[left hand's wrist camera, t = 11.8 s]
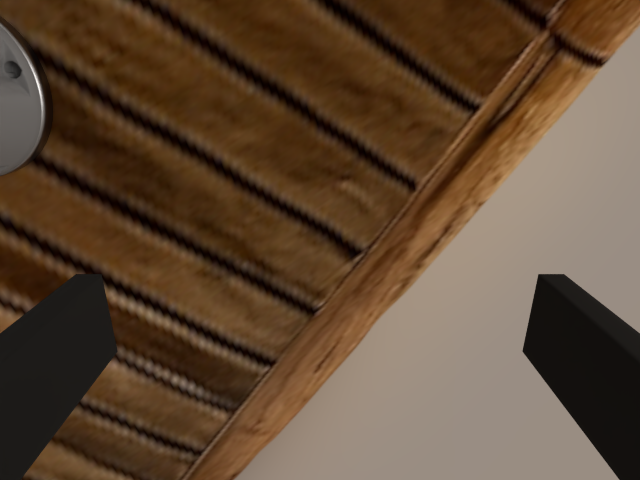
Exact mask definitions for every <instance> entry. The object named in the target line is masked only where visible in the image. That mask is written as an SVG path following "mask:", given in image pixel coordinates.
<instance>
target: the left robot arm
mask: <svg viewBox="0 0 640 480" xmlns="http://www.w3.org/2000/svg"><path fill="white" fill-rule="evenodd" d="M52 120H53V103H52V96H51V91H50V87H49V83H48V80H47V77H46V74H45V72H44V70H43V67H42V65H41V63H40V62H39V60H38V58H37V56H36V55H35V53H34V51H33V50H32V48H31V47H30V46H29V44H28V43H27V42H26V40H25V39H24V38H23V37H22V36H21V35H20V33H19V32H18V31H17V30H16V29H15V28H14V27H13V26H12V25H10V24H9V23H8V22H7V21H6V20H5V19H3V18H2V17H1V16H0V176H1V175H5V174H8V173H11V172H14V171H17V170H19V169H21V168H23V167H24V166H26V165H28V164H29V163H30V162H31V161H33V160H34V159H35V158H36V157H37V156H38V154H39V153H40V152H41V150H42V149H43V147H44V146H45V144H46V142H47V139H48V137H49V134H50V130H51V126H52ZM116 353H117V347H116V342H115V337H114V332H113V328H112V323H111V318H110V313H109V308H108V303H107V299H106V294H105V289H104V284H103V279H102V274H76V275H74V276H73V277H72V278H71V279H69V280H68V281H67V282H65V283H64V284H63V285H62V286H60V287H59V288H58V289H57V290H55V291H54V292H53V293H51V294H50V295H49V296H48V297H46V298H45V299H44V300H42V301H41V302H40V303H39V304H37V305H36V306H35V307H34V308H32V309H31V310H30V311H28V312H27V313H26V314H25V315H23V316H22V317H21V318H19V319H18V320H17V321H16V322H14V323H13V324H12V325H11V326H9V327H8V328H7V329H5V330H4V331H3V332H2V333H0V480H21V478H22V477H23V476H24V474H25V473H26V472H27V470H28V469H29V468H30V466H31V465H32V464H33V462H34V461H35V460H36V458H37V457H38V456H39V454H40V453H41V452H42V451H43V449H44V448H45V447H46V445H47V444H48V443H49V441H50V440H51V439H52V437H53V436H54V435H55V433H56V432H57V431H58V429H59V428H60V427H61V425H62V424H63V423H64V421H65V420H66V419H67V417H68V416H69V415H70V413H71V412H72V411H73V410H74V408H75V407H76V406H77V404H78V403H79V402H80V400H81V399H82V398H83V396H84V395H85V394H86V392H87V391H88V390H89V388H90V387H91V386H92V384H93V383H94V382H95V380H96V379H97V378H98V376H99V375H100V374H101V372H102V371H103V370H104V368H105V367H106V366H107V365H108V363H109V362H110V361H111V359H112V358H113V357H114V355H115V354H116ZM523 353H524V354H525V355H526V357H527V358H528V359H529V361H530V362H531V363H532V364H533V366H534V367H535V368H536V370H537V371H538V372H539V374H540V375H541V376H542V378H543V379H544V380H545V382H546V383H547V384H548V386H549V387H550V388H551V390H552V391H553V392H554V394H555V395H556V396H557V398H558V399H559V400H560V402H561V403H562V404H563V406H564V407H565V408H566V409H567V411H568V412H569V413H570V415H571V416H572V417H573V419H574V420H575V421H576V423H577V424H578V425H579V427H580V428H581V429H582V431H583V432H584V433H585V435H586V436H587V437H588V439H589V440H590V441H591V443H592V444H593V445H594V447H595V448H596V449H597V451H598V452H599V453H600V454H601V456H602V457H603V458H604V460H605V461H606V462H607V464H608V465H609V466H610V468H611V469H612V470H613V472H614V473H615V474H616V476H617V477H618V478H619V480H640V333H638V332H637V331H636V330H635V329H633V328H632V327H631V326H629V325H628V324H627V323H626V322H624V321H623V320H622V319H621V318H619V317H618V316H617V315H615V314H614V313H613V312H612V311H610V310H609V309H608V308H606V307H605V306H604V305H603V304H601V303H600V302H599V301H598V300H596V299H595V298H594V297H592V296H591V295H590V294H589V293H587V292H586V291H585V290H583V289H582V288H581V287H580V286H578V285H577V284H576V283H575V282H573V281H572V280H571V279H569V278H568V277H567V276H566V275H564V274H539V275H538V279H537V284H536V289H535V294H534V299H533V303H532V308H531V313H530V318H529V323H528V328H527V332H526V337H525V342H524V347H523Z"/></svg>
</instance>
